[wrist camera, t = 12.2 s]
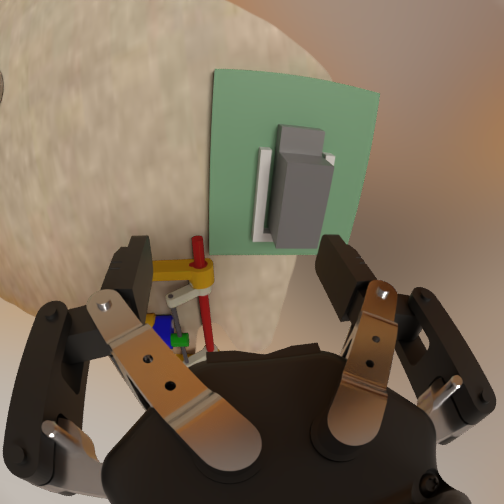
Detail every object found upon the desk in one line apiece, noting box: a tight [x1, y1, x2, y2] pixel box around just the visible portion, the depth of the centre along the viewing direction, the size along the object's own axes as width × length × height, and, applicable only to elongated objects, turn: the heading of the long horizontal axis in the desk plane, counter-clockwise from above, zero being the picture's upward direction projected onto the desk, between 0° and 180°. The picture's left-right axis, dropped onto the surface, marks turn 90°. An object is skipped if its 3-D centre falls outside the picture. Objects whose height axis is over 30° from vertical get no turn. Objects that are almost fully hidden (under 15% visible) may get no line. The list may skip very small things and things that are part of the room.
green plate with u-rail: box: [209, 69, 380, 255], centre depth 33 cm, size 20×24×3 cm
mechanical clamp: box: [145, 236, 219, 367], centre depth 43 cm, size 18×6×30 cm
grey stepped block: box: [267, 124, 334, 249], centre depth 31 cm, size 13×5×6 cm, turn 175°
